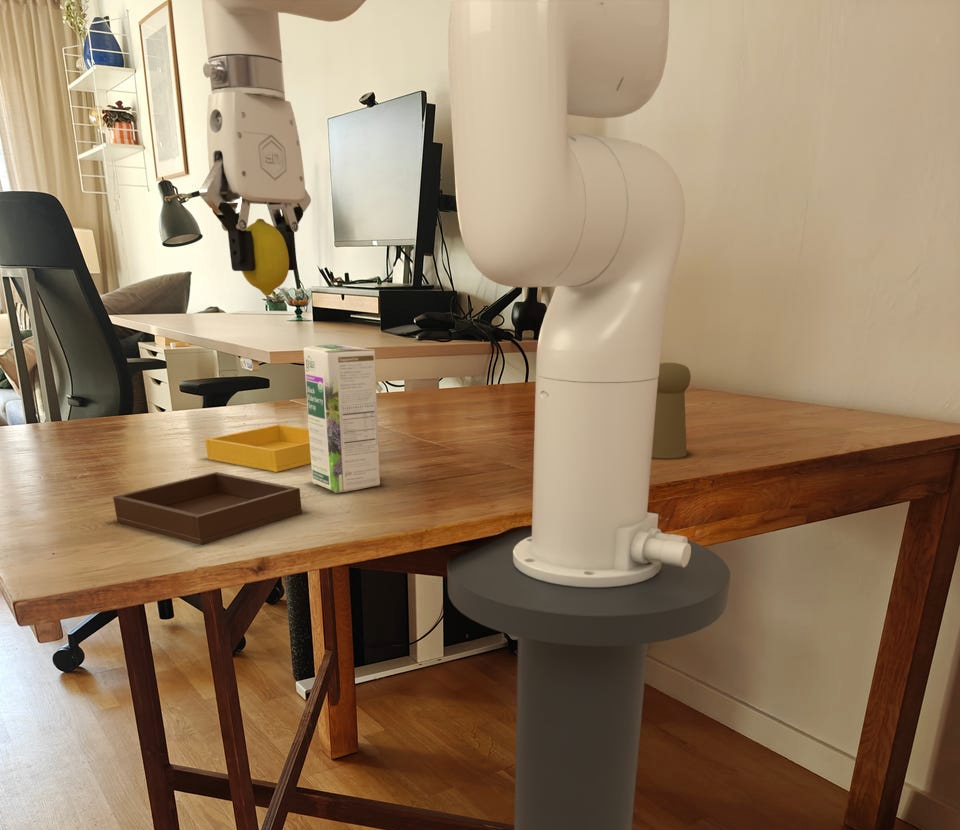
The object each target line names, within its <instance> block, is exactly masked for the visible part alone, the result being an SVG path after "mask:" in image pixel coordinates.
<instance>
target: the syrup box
mask: <svg viewBox="0 0 960 830" xmlns="http://www.w3.org/2000/svg"><path fill="white" fill-rule="evenodd" d="M303 361H304V362H303V363H304V375H305V377H304V378H305V392H306V407H307V408H306V409H307V423H308V424H307V425H308V429H309V439H310V453H311V463H310V464H311V467H310V468H311V478H312V479H311V480H312V484H313V485H316V486H317V485H318V486H320V487H322V488H324V489H327V490H329V491H332V492H333V493H335V494H340V493H344V492H345V493H346V492H350V491H357V490H363V489H367V488H372V487H377V486H380V485H381V473H380V472H381V470H380V449H379V448H380V447H379V420H378V419H379V418H378V397H377V395H378V393H377V373H376V372H377V371H376V369H377V368H376V350H375V349H374V348H366V347H365V348H364V347H358V346H351V345H346V344H316V345H311V346H306V347H303Z"/></svg>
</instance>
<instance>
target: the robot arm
mask: <svg viewBox="0 0 960 830" xmlns="http://www.w3.org/2000/svg"><path fill="white" fill-rule="evenodd" d="M366 1H367V0H201V7H202V15H203V17H202V18H203V25H204V26H203V27H204V33H205V43H206V52H207V62H205V63H204V64H203V69H202V70H203V75H204V76H205V78H207V79H210V89H211V94H209V95H208V97H207V111H206V113H207V116H206V119H207V120H206V134H207V135H206V139H207V140H206V142H207V143H206V144H207V161H208V170H209V172H208V174H207V176H206V177H205V180H203V183H202V185H201V187H200V188H199V196H200V198H201V200H203V201H204V203H206V205H207V206H208V207H209V209H211V210H212V213H213V215H215V217H216V219H218V221H219V222H220V223H221V229H222V230H223V231H224V232H227V237H228V246H229V256H230V257H229V258H230V265H231V269H232V271H234V272H242V271H254V270H255V257H254V247H253V237H252V233H251V231H246V229H247V227H248V222H249V217H250V210H251V205H252V204H253V205H256V204H257V205H266V207H267V210H268V213H269V216H270V219H271V222H272V226H274V227H275V228H276V229H277V230H278V231H279V232H280V233H281V235H282V236H283V238H284V240H285V243H286V246H287V250H288V255H289V270H288V271H296V270H297V269H298V264H297V263H298V261H297V250H296V240H295V239H296V237H295V233H297V232H298V231H299V224H300V221H301V220H302V218H303V216H304V213H305V212H306V210H307V209H308V207H309V206H310V204H311V202H312V199H311V196H310V194H309V192H308V191H307V190H306V182H305V172H304V164H303V155H302V147H301V142H300V136H299V130H298V125H297V121H296V118H295V113H294V110H293V107H292V102H291V101H289V100H286V94H285V93H286V92H285V80H284V68H283V67H284V66H283V55H282V43H281V31H280V16H279V14H287V15H288V14H289V15H293V16H298V17H303V18H307V19H313V20H317V21H321V22H322V21H323V22H329V23H331V22H339V21H342V20H345V19H347V18H348V17H350V16H352V15H353V14H355V12H357V11H358V10H359V9H360V8H361V7H362V6H363V4H365V2H366ZM669 31H670V0H451V4H450V11H449V18H448V26H447V57H448V58H447V59H448V60H447V62H448V64H447V65H448V82H449V96H450V97H449V99H450V116H451V130H452V131H451V134H452V147H453V148H452V150H453V152H452V153H453V167H454V184H455V185H454V187H455V201H456V210H457V220H458V225H459V231H460V235H461V239H462V243H463V245H464V248H465V250H466V252H467V256H468V257H469V259H470V260H471V262H472V264H473V265H474V266H475V268H476V270H478V271H479V272H480V274H482V276H484V277H485V278H487V279H488V280H489V281H492V283H493V282H494V283H496V284H498V285H501V286H505V287H511V288H548V287H549V288H550V287H555V289H554V292H553V293H552V297H551V299H550V302H549V304H548V306H547V309H546V310H545V311H546V312H545V314H544V317H543V321H542V323H541V327H540V330H539V334H538V340H537V345H536V346H537V347H536V357H535V358H536V359H535V360H536V361H535V362H536V363H535V390H534V391H535V392H534V393H535V394H534V396H535V397H534V435H533V437H534V438H533V440H534V441H533V468H532V469H533V475H532V511H531V512H532V515H531V516H532V517H531V525H532V536H531V537H528V538H526V539H524V540H522V541H520V542H519V543H518V544H517V545H516V546H515V547H514V550H513V563H514V565H515V567H516V568H517V569H518V570H520V571H521V572H522V573H524V574H526V575H527V576H529V577H532V578H534V579H537V580H540V581H544V582H547V583H552V584H557V585H562V586H570V587H582V588H609V587H620V586H626V585H632V584H636V583H639V582H643V581H645V580H648V579H650V578H652V577H653V576H655V575H656V574H657V573H658V572H659V571H660V569H661V566H662V563H663V564H667V565H672V566H678V567H683V568H684V567H686V565H687V564H688V562H689V559H690V555H691V546H690V544H688V543H687V540H688V537H687V536H685V535H679V534H673V533H670V534H669V533H666V534H665V532H662V530H661V529H660V528H658V524H659V513H655V512H648V507H649V495H650V494H649V493H650V483H651V481H650V480H651V469H652V446H653V434H654V422H655V410H656V397H657V385H658V376H659V366H660V363H661V355H662V344H663V335H664V324H665V319H666V311H667V306H668V300H669V294H670V290H671V285H672V280H673V276H674V273H675V269H676V266H677V261H678V259H679V254H680V249H681V245H682V242H683V236H684V230H685V223H686V222H685V220H686V205H685V204H686V203H685V196H684V190H683V188H682V184H681V181H680V179H679V176H678V175H677V173H676V172H675V169H674V168H673V167H672V165H671V164H670V162H668V161H667V160H666V159H665V158H664V157H663V156H662V155H661V154H660V153H659V152H657V151H656V150H654V149H652V148H650V147H648V146H646V145H643V144H641V143H638V142H636V141H631V140H628V139H622V138H615V137H607V136H600V135H591V134H583V133H582V134H575V133H569V132H568V115H569V116H575V117H584V118H593V119H611V118H612V119H613V118H614V119H615V118H621V117H625V116H628V115H631V114H634V113H635V112H637V111H639V110H640V109H641V108H642V107H644V106H645V105H646V104H647V103H648V102H649V101H650V100H651V99H652V97H653V96H654V94H655V93H656V91H657V89H658V87H659V86H660V84H661V81H662V79H663V76H664V71H665V67H666V63H667V57H668V48H669V36H670V35H669V33H670V32H669ZM281 211H282V213H283V214H282V213H281ZM661 532H662V533H661Z"/></svg>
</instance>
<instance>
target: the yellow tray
mask: <svg viewBox="0 0 960 830" xmlns="http://www.w3.org/2000/svg"><path fill="white" fill-rule="evenodd" d="M204 440H205V448H206V455H207V460H210V461H215V462H220V463H226V464H232V465H237V466H241V467H247V468H253V469H257V470H263V471H269V472H275V473H278V472H282V471H287V470H290V469H294V468H299V467H302V466H306V465H310V464H311V453H310V439H309V428H307V427H300V426H293V425H286V424H280V423H279V424H274V425H268V426H263V427H259V428H253V429H249V430H248V429H247V430H243V431H239V432H233V433H229V434H223V435H219V436H213V437H209V438H205V439H204Z"/></svg>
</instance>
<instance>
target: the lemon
mask: <svg viewBox="0 0 960 830" xmlns="http://www.w3.org/2000/svg"><path fill="white" fill-rule="evenodd" d="M246 231H251V233H252V237H253V247H254V257H255V270H254V271H241V273H242V276H243V277H244V278H245V280H246V281H247V282H248V283H249V284H250V285H251V286H252V287H254V288H256V289H258V290H259V291H260V292H261V293H262V295H264V296H266V297H269V296H271V295H272V293H273V292H274V291H275V290H276V289H277V288H279V287H280V286H282V285H283V284H284V283H285V281H286V279H287V277H288V274H289V271H290V270H289V255H288V250H287V246H286V243H285V240H284V238H283V236H282V235H281V233H280V232H279V231H278V230H277V229H276V228H275V227H274V225H273V224H270V223H268V222H266V221H265V220H264V219H263V218H257V219H256V220H255V222H253V223H251V224H249V225H247V229H246Z"/></svg>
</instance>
